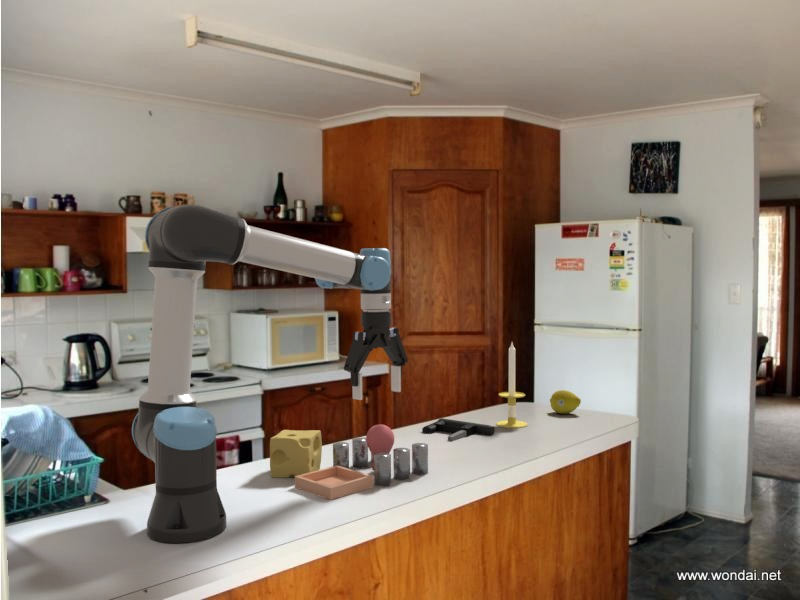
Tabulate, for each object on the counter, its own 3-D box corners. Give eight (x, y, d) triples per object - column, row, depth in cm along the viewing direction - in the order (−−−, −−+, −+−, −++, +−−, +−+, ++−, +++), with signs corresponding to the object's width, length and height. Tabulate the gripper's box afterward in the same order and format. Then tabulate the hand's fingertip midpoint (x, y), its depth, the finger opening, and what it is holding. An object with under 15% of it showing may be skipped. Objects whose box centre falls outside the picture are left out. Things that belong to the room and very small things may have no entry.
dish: (330, 499, 166) (330, 488, 166) (294, 487, 175) (294, 476, 175) (373, 486, 176) (373, 475, 175) (337, 475, 185) (337, 465, 184)
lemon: (544, 413, 257) (544, 390, 257) (556, 409, 263) (556, 387, 262) (572, 417, 250) (572, 394, 249) (584, 414, 255) (584, 390, 255)
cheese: (309, 480, 181) (309, 439, 181) (267, 477, 183) (267, 437, 183) (322, 468, 191) (322, 429, 191) (282, 466, 194) (282, 428, 193)
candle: (496, 420, 246) (496, 339, 244) (527, 421, 244) (527, 339, 243) (495, 427, 236) (496, 342, 234) (528, 428, 234) (528, 342, 233)
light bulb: (400, 471, 188) (400, 424, 187) (380, 478, 182) (380, 429, 182) (380, 466, 193) (380, 420, 192) (360, 472, 187) (359, 425, 187)
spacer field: (382, 487, 175) (382, 458, 174) (329, 471, 188) (329, 444, 188) (431, 472, 187) (431, 444, 186) (378, 458, 200) (378, 432, 200)
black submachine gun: (469, 437, 215) (497, 423, 228) (413, 428, 227) (442, 415, 240) (469, 448, 216) (497, 434, 228) (413, 438, 227) (442, 426, 240)
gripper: (349, 314, 174) (351, 404, 175) (420, 307, 192) (421, 389, 193) (328, 313, 179) (329, 400, 180) (399, 306, 197) (400, 386, 199)
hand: (377, 395), depth 187 cm, fingers open, 13 cm apart
